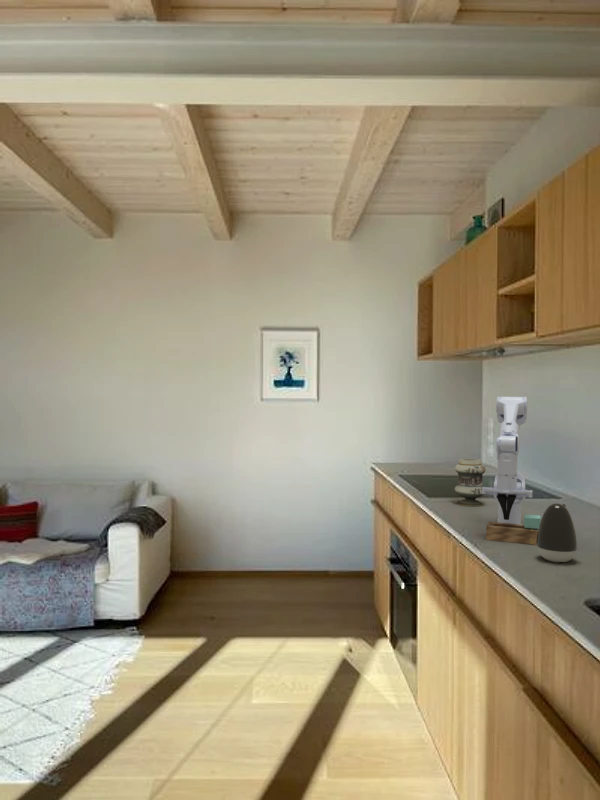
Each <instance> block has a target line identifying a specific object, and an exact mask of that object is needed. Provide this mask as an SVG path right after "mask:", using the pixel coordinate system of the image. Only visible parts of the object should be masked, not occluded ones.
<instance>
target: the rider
mask: <svg viewBox="0 0 600 800" xmlns="http://www.w3.org/2000/svg"><path fill="white" fill-rule="evenodd" d="M523 518H524V519H523V525H524V528H525V529H535V530H538V529H539V525H540V522H541V519H542V516H541V515H538V514H536V515H535V514H527V513H526V514H525V515H524V517H523Z"/></svg>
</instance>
